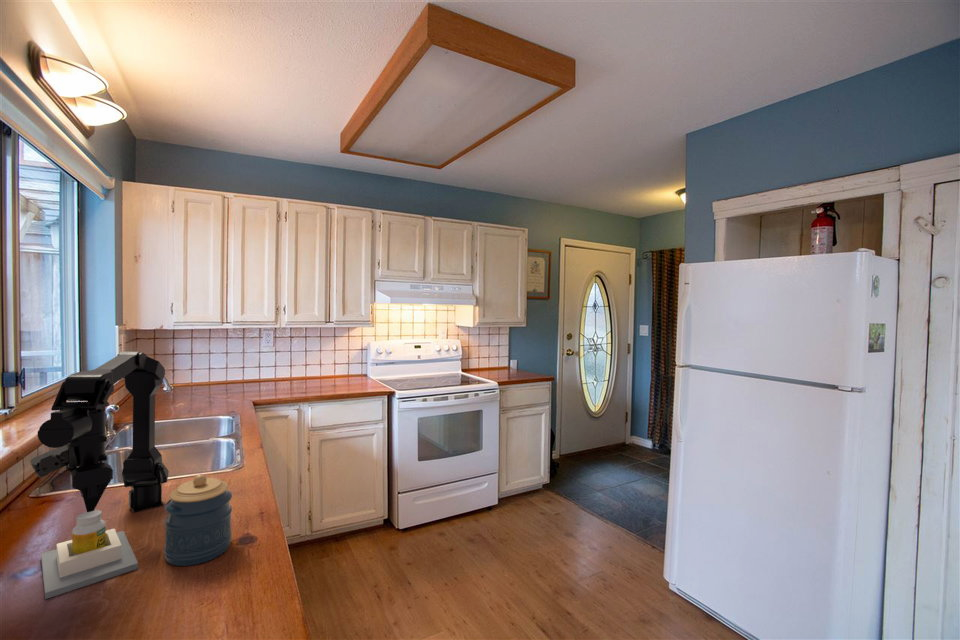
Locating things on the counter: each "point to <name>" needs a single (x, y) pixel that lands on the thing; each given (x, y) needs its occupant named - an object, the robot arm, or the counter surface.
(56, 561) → the socket board
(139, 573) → the counter surface
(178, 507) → the canister
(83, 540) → the supplement bottle
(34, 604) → the counter surface
